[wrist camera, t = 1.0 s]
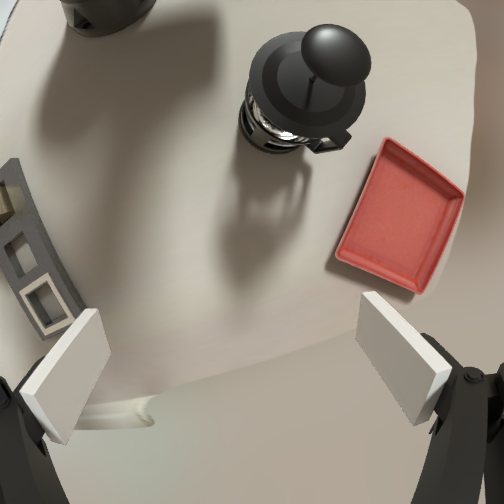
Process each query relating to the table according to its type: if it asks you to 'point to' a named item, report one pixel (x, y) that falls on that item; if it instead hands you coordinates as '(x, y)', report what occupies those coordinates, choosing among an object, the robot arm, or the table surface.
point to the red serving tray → (401, 219)
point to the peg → (5, 205)
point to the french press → (305, 90)
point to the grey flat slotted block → (44, 254)
